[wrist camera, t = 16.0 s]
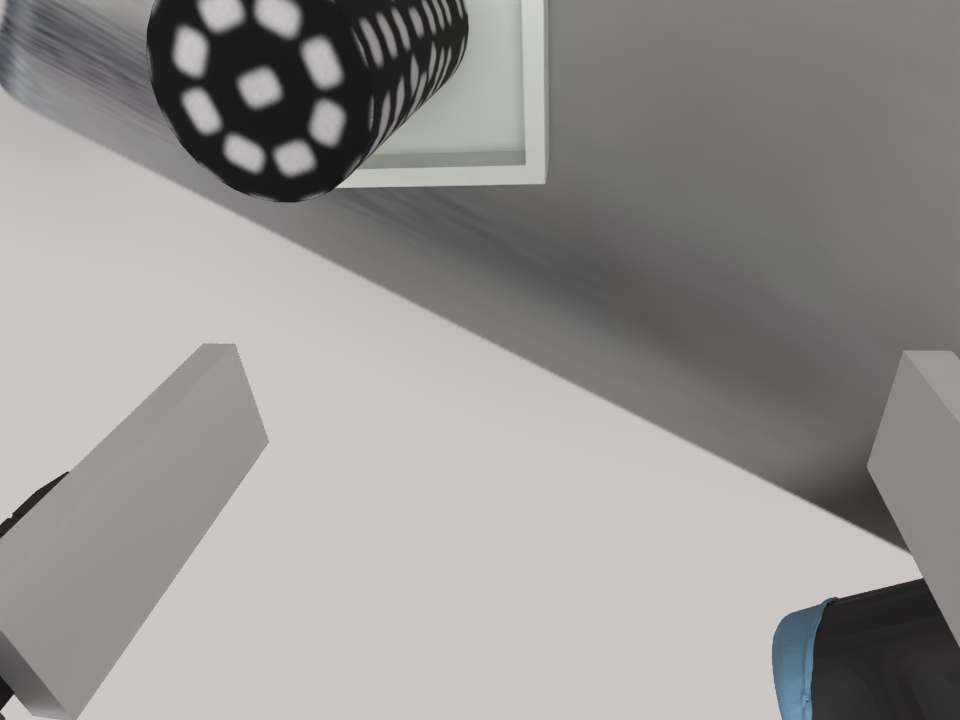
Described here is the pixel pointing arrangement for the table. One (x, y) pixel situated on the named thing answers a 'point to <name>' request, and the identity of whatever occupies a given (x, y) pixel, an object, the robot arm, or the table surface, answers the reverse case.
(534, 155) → the tray
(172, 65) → the spotted tube
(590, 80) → the table surface
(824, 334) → the table surface
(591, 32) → the table surface
